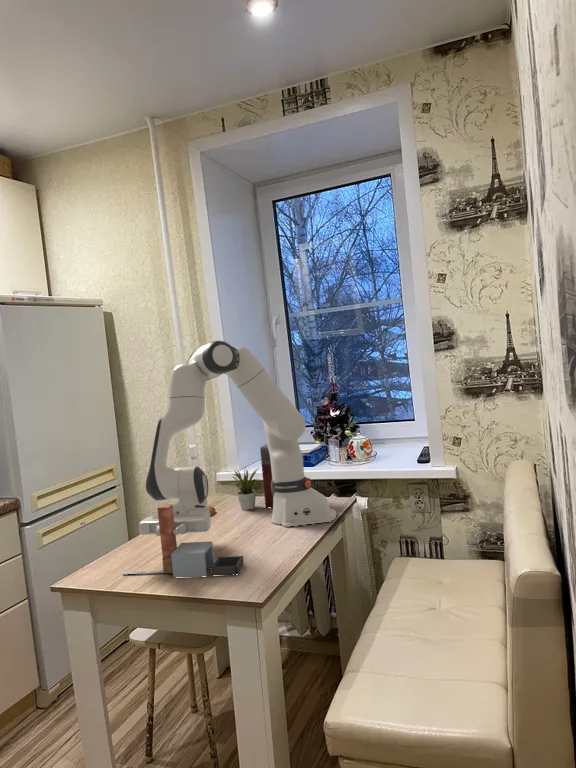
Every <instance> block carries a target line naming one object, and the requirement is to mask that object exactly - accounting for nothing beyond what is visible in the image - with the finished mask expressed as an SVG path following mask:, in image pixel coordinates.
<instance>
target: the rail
mask: <svg viewBox="0 0 576 768" xmlns="http://www.w3.org/2000/svg"><path fill="white" fill-rule="evenodd" d="M206 569H207V571H212V570H211V568H206ZM155 573H164V571H163V570H147V571H145V570H143V571H124V572H123V573H122V576H129V575H128V574H148V575H156V574H155Z"/></svg>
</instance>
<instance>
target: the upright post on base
mask: <svg viewBox="0 0 576 768" xmlns="http://www.w3.org/2000/svg"><path fill="white" fill-rule="evenodd" d="M173 506H174V505H173V503H169V504H168V503H167V504H160V505H159V506H158V507H157V515H158V518H159V528H160V536H159V537H160V545H161V556H162V559H161V560H162V569H163V570H162V571H164V573H173V567H172V557H171V554H172V553H173V552H174V550H175V549H176V548H177V547H178V544H177V535H173V534H172V533H173V532H172V529H173V528H174V527H175V524H174V514H173Z"/></svg>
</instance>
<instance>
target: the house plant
mask: <svg viewBox="0 0 576 768" xmlns="http://www.w3.org/2000/svg"><path fill="white" fill-rule="evenodd" d="M250 469H252V468H249V469H247V466H245V467H244V472H243V478H242V475H241V473H240V471H239V470H238V469H236V468H235V469H234V470H233V472H234V474H233V473H232V472H231V471H227V470H226V471H224V473H225V472H227V473H231V474H230V475H233V476H232V478H233V479H234V480H235V481H236V482H237V483H236V482H232V483H230V485H233V486H232V487H237V490H238V492H237V493H236V495H237V498H238V501H239V506H240V509H242V511H249V510H248V509H252V508H254V507H255V508H256V497H257V496H256V495H257V491H256V490H255V489H254V487H255V486H256V487H259V484H258V483H257V482H258V480H260V478H258V479H256V478H255V479H253V478H254V476H255V474H256V473H257V472H258V470H259V469H260V467H257V468H256V469H255V470H253V472H252V473H251V475H250V477H249V471H250ZM239 490H240V491H239ZM255 508H254V509H255ZM252 510H253V509H252Z"/></svg>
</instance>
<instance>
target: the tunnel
mask: <svg viewBox="0 0 576 768" xmlns="http://www.w3.org/2000/svg"><path fill="white" fill-rule="evenodd" d="M213 544H214V543H213V541H212V540H211V541H210V540H209V541H194V542H193V541H192V542H181V543H180V544H179V545H177V548H176V549H175V550H174V552H173V553H172V554H171V557H172V567H173V575H172V576H173V579H174V578H176V577H202V576H207V577H208V572H207V569H208V568H207V567H206V566H209V567H212V566H213V565H214V563H215V556H214V555H215V554H214V545H213Z"/></svg>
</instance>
